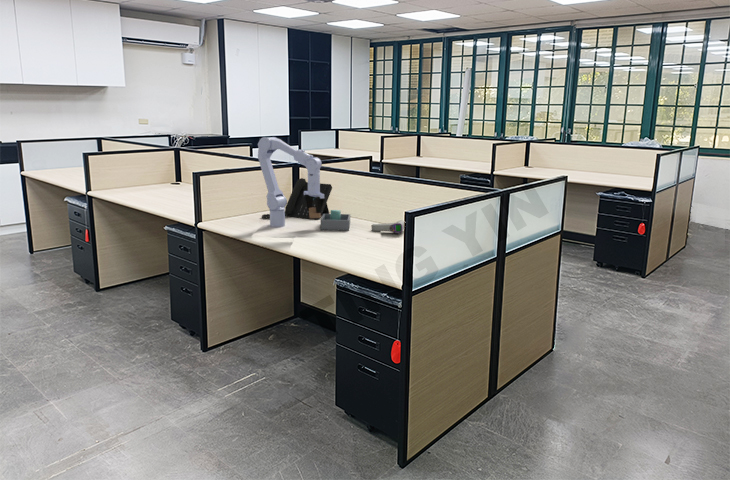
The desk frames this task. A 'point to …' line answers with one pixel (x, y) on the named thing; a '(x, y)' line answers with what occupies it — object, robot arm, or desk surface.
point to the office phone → (297, 203)
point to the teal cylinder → (335, 215)
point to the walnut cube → (314, 213)
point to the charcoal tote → (335, 223)
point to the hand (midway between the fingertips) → (313, 211)
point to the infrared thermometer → (389, 227)
